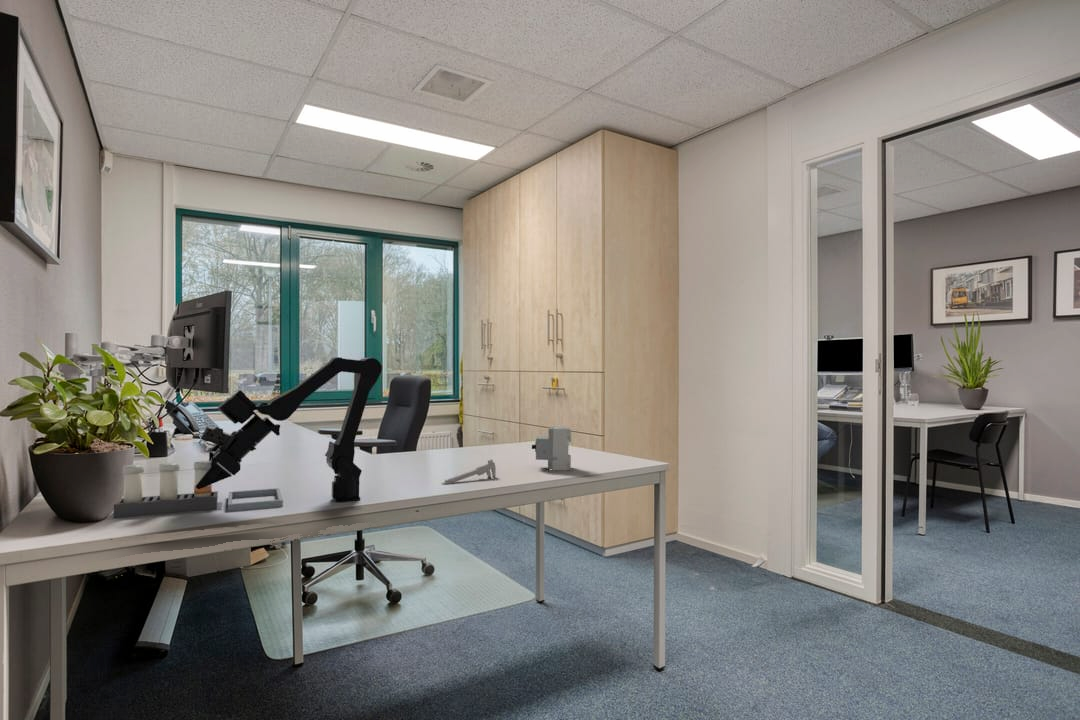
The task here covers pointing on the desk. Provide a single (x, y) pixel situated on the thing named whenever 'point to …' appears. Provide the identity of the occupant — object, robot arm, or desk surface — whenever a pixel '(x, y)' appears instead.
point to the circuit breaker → (554, 448)
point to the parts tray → (255, 504)
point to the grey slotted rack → (165, 506)
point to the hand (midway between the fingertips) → (196, 484)
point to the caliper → (475, 472)
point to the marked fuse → (200, 471)
